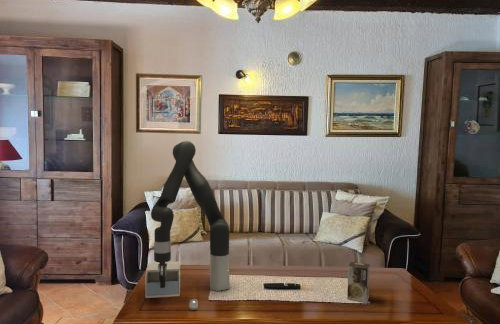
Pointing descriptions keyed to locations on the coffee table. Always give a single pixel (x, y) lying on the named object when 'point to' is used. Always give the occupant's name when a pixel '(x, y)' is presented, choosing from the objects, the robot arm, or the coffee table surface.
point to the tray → (170, 288)
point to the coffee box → (358, 282)
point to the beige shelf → (171, 273)
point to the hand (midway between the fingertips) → (162, 287)
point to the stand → (193, 304)
